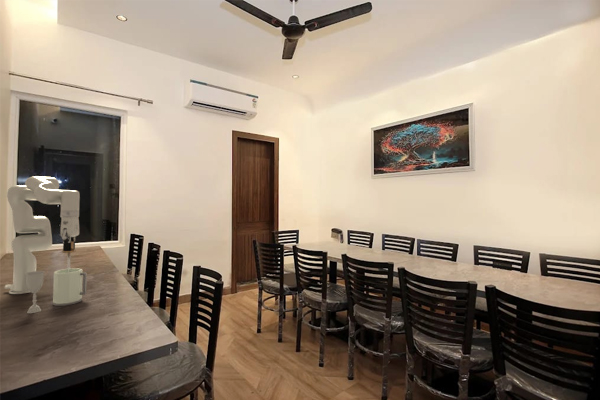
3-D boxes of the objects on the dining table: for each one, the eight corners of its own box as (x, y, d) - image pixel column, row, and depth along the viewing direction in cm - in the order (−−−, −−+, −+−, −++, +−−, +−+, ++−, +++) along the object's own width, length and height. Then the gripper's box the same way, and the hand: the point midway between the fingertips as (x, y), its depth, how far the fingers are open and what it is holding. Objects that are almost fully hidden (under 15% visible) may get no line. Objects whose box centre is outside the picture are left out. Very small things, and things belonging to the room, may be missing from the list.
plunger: (59, 285, 148) (60, 242, 149) (64, 282, 154) (65, 241, 154) (72, 284, 150) (73, 242, 150) (76, 281, 155) (78, 240, 156)
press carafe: (48, 306, 145) (49, 273, 145) (59, 299, 156) (60, 268, 156) (80, 304, 149) (81, 272, 149) (89, 297, 160) (90, 267, 160)
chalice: (47, 309, 141) (48, 271, 141) (30, 314, 134) (31, 275, 134) (37, 307, 143) (38, 270, 143) (20, 312, 137) (21, 273, 137)
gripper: (71, 215, 146) (70, 252, 145) (84, 213, 161) (84, 247, 161) (53, 215, 143) (52, 253, 143) (68, 213, 159) (67, 248, 159)
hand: (69, 249), depth 152 cm, fingers closed on plunger, 3 cm apart
